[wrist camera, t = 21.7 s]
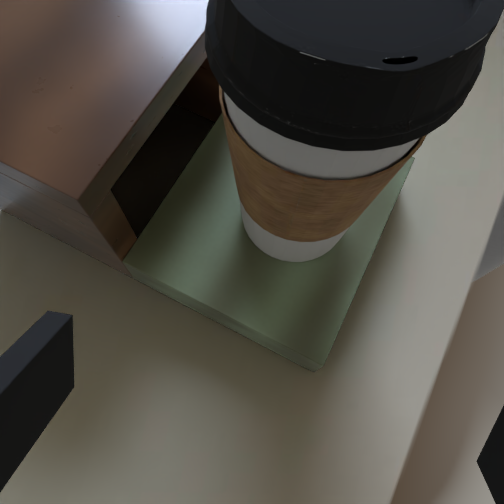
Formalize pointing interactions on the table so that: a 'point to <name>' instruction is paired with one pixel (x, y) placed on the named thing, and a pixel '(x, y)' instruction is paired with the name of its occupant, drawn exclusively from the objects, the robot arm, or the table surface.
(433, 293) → the table surface
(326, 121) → the coffee cup
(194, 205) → the step shelf
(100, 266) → the table surface
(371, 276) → the table surface
